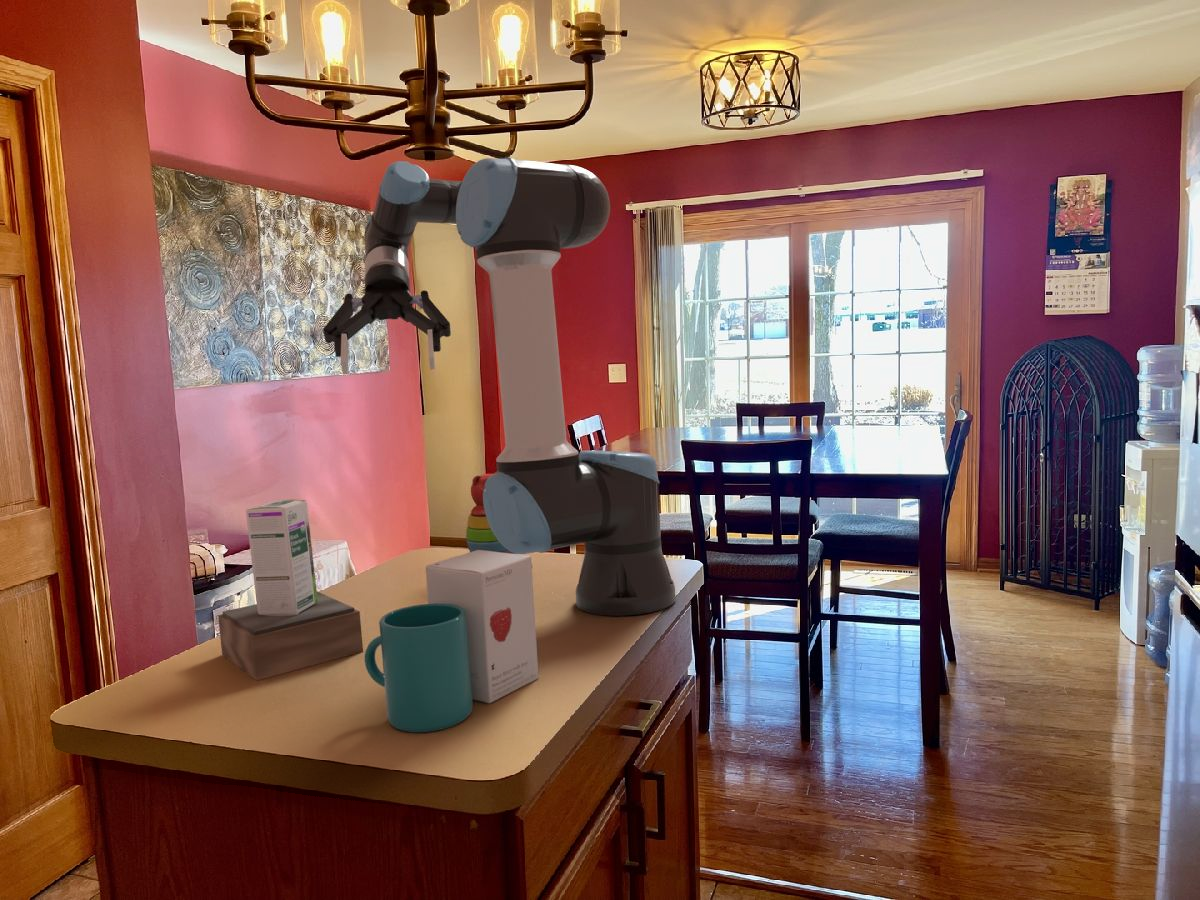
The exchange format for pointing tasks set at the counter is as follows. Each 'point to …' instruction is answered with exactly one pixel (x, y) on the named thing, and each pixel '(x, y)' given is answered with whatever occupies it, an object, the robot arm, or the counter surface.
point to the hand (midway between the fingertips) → (388, 366)
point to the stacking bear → (481, 522)
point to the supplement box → (492, 617)
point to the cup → (423, 666)
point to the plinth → (289, 637)
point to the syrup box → (282, 557)
